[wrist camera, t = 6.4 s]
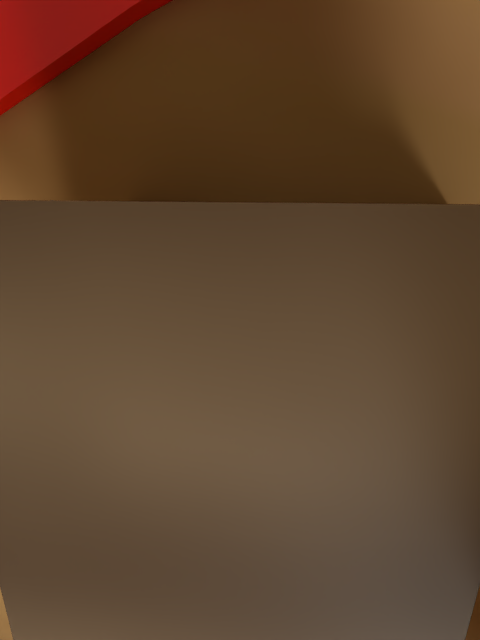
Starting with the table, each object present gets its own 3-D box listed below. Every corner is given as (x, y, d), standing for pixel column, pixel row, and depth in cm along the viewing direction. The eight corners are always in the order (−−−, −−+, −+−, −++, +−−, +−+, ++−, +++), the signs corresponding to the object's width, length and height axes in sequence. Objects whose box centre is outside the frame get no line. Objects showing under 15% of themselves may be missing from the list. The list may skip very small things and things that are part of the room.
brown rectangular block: (360, 580, 10) (398, 888, 6) (156, 544, 11) (47, 781, 7) (412, 203, 7) (582, 204, 3) (130, 201, 8) (-94, 200, 4)
